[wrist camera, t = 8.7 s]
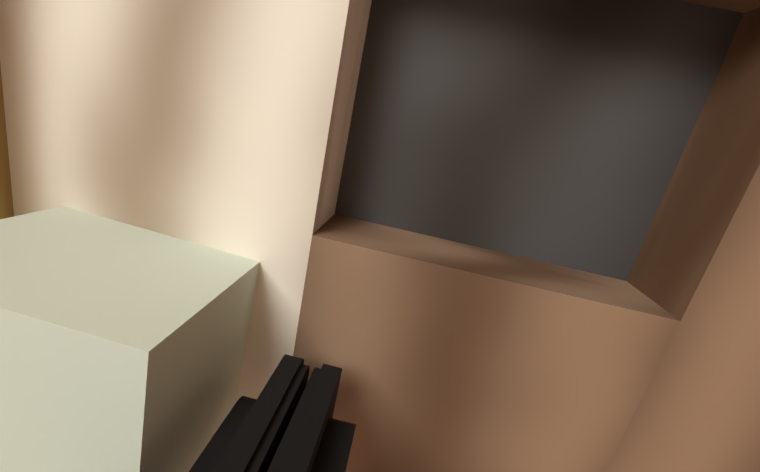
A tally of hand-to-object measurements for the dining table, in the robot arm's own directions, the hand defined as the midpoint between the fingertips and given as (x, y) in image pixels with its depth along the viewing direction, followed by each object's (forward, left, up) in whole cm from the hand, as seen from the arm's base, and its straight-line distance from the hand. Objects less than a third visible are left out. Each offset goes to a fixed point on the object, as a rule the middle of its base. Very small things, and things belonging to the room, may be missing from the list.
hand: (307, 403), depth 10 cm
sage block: (+5, -1, -1) cm, 6 cm away
